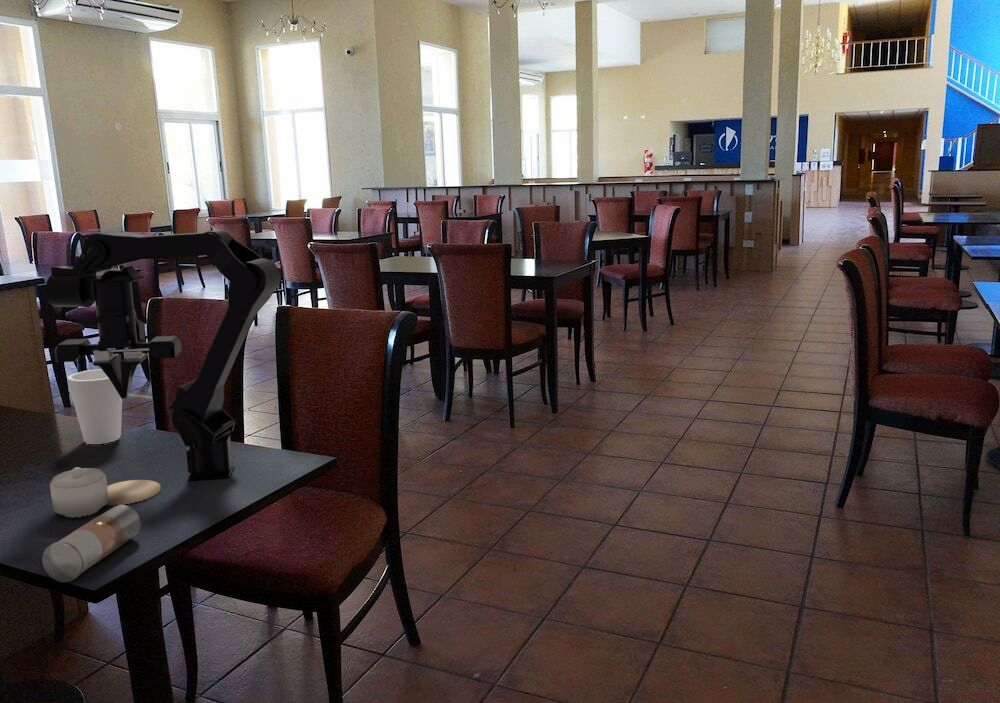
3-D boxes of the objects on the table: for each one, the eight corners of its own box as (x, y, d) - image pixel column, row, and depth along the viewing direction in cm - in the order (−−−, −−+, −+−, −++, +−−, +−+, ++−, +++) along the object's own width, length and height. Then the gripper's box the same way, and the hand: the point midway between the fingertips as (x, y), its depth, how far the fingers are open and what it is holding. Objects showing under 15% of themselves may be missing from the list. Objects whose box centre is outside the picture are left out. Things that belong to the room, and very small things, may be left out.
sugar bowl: (115, 499, 127) (110, 457, 126) (100, 519, 120) (95, 475, 118) (64, 502, 126) (58, 460, 124) (46, 522, 118) (40, 478, 117)
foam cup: (93, 451, 149) (85, 383, 146) (65, 442, 154) (57, 377, 151) (139, 437, 157) (132, 372, 154) (111, 429, 162) (104, 366, 159)
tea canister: (138, 504, 112) (75, 544, 100) (143, 538, 113) (82, 582, 101) (105, 503, 113) (38, 543, 101) (111, 538, 114) (46, 581, 102)
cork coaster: (167, 479, 135) (166, 478, 135) (152, 503, 125) (152, 501, 125) (103, 483, 133) (103, 481, 133) (84, 507, 124) (83, 506, 124)
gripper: (184, 298, 143) (191, 383, 146) (71, 301, 139) (81, 388, 143) (170, 309, 132) (178, 400, 135) (47, 312, 129) (59, 405, 132)
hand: (124, 397), depth 137 cm, fingers closed
